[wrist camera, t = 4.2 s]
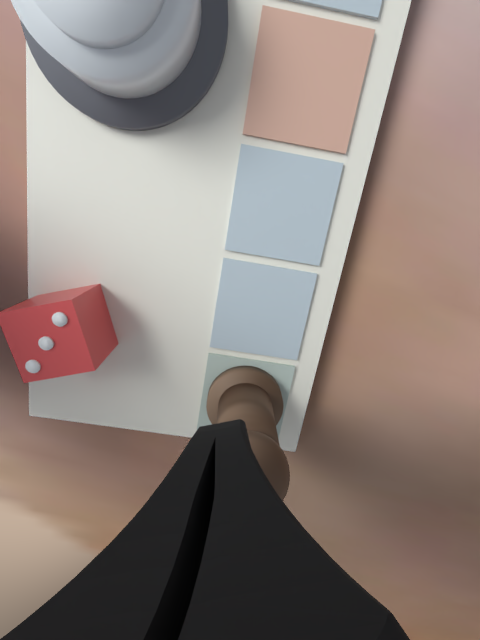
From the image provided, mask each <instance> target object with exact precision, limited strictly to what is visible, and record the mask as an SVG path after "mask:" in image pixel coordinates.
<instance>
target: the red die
mask: <svg viewBox="0 0 480 640" xmlns="http://www.w3.org/2000/svg"><path fill="white" fill-rule="evenodd" d="M0 326H1V328H2V331H3V333H4V336H5V338H6V340H7V343H8V345H9V348H10V350H11V353H12V355H13V358H14V360H15V362H16V365H17V367H18V370H19V372H20V375H21V377H22V380H23V382H24V383H28V382H33V381H39V380H45V379H51V378H56V377H62V376H68V375H73V374H79V373H85V372H91V371H95V370H96V369H97V368H98V367H99V366H100V365H101V363H102V362H103V361H104V360H105V359H106V358H107V357H108V355H109V354H110V353H111V352H112V351H113V350H114V348H115V347H116V346H117V345H118V344H119V343H118V340H117V337H116V333H115V330H114V327H113V324H112V320H111V317H110V314H109V310H108V307H107V304H106V301H105V297H104V294H103V291H102V288H101V284H95V285H90V286H84V287H79V288H73V289H68V290H63V291H57V292H52V293H46V294H41V295H37V296H34V297H32V298H30V299H28V300H25V301H23V302H21V303H18V304H16V305H14V306H12V307H9V308H7V309H5V310H2V311H0Z"/></svg>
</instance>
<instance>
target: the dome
mask: <svg viewBox="0 0 480 640" xmlns="http://www.w3.org/2000/svg"><path fill="white" fill-rule="evenodd" d="M11 2H12V4H13V6H14V8H15V10H16V12H17V14H18V16H19V18H20V20H21V21H22V23H23V24H24V26H25V27H26V29H27V30H28V32H29V33H30V34H31V35H32V37H33V38H34V39H35V40H36V41H37V43H38V44H39V45H40V46H41V47H42V48H43V49H45V50H46V51H47V52H48V53H49V54H50V55H51V56H52V57H54V58H55V59H56V60H57V61H58V62H60V63H61V64H62V65H63V66H64V67H66V68H67V69H68V70H69V71H70V72H72V73H73V74H74V75H75V76H76V77H78V78H79V79H80V80H81V81H83V82H84V83H85V84H87V85H88V86H90V87H91V88H93V89H95V90H97V91H99V92H101V93H104V94H106V95H109V96H113V97H117V98H126V99H128V98H140V97H146V96H149V95H152V94H155V93H157V92H158V91H160V90H162V89H164V88H165V87H167V86H168V85H169V84H171V83H172V82H173V81H174V80H175V79H176V78H177V77H178V76H179V75H180V74H181V73H182V71H183V70H184V69H185V67H186V66H187V64H188V62H189V61H190V59H191V57H192V54H193V52H194V50H195V47H196V44H197V41H198V37H199V32H200V26H201V13H202V10H201V0H11Z"/></svg>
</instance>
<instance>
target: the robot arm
mask: <svg viewBox="0 0 480 640" xmlns="http://www.w3.org/2000/svg"><path fill="white" fill-rule="evenodd" d="M0 640H410V639H409V638H408V636H407V635H406V633H405V632H404V630H403V629H402V627H401V626H400V624H399V623H398V622H397V620H396V619H395V617H394V616H393V614H392V613H391V612H390V611H389V610H388V609H387V608H385V607H384V606H383V605H382V604H381V603H380V602H378V601H377V600H376V599H375V598H374V597H373V596H371V595H370V594H369V593H368V592H367V591H366V590H365V589H364V588H362V587H361V586H360V585H359V584H358V583H357V582H356V581H355V580H354V579H352V578H351V577H350V576H349V575H348V574H347V573H346V572H345V571H344V570H343V569H342V568H341V567H340V566H339V565H338V564H337V563H336V562H335V561H334V560H333V559H332V558H331V557H330V556H329V555H328V554H327V553H326V552H325V551H324V550H323V549H322V547H321V546H320V545H319V544H318V543H317V542H316V541H315V540H314V539H313V538H312V537H311V535H310V534H309V533H308V532H307V531H306V530H305V529H304V528H303V527H302V525H301V524H300V523H299V522H298V520H297V519H296V518H295V517H294V515H293V514H292V513H291V512H290V510H289V509H288V508H287V506H286V505H285V504H284V502H283V501H282V500H281V498H280V497H279V495H278V494H277V493H276V491H275V489H274V488H273V486H272V485H271V483H270V482H269V480H268V478H267V477H266V475H265V474H264V472H263V470H262V468H261V466H260V465H259V463H258V461H257V459H256V457H255V455H254V453H253V451H252V448H251V445H250V441H249V436H248V432H247V428H246V424H245V422H244V421H243V420H241V419H238V420H232V421H227V422H222V423H217V424H211V425H206V426H201V427H199V428H198V429H197V431H196V432H195V434H194V435H193V437H192V438H191V440H190V441H189V443H188V445H187V446H186V448H185V449H184V451H183V452H182V454H181V455H180V457H179V458H178V460H177V461H176V463H175V464H174V466H173V467H172V468H171V470H170V471H169V473H168V474H167V476H166V477H165V479H164V480H163V481H162V483H161V484H160V485H159V487H158V488H157V489H156V491H155V492H154V493H153V495H152V496H151V497H150V498H149V500H148V501H147V502H146V504H145V505H144V506H143V507H142V508H141V510H140V511H139V512H138V513H137V514H136V516H135V517H134V518H133V519H132V520H131V521H130V522H129V523H128V525H127V526H126V527H125V528H124V529H123V530H122V531H121V532H120V533H119V534H118V535H117V537H116V538H115V539H114V540H113V541H112V542H111V543H110V544H109V545H108V546H107V547H106V548H105V549H104V550H103V551H102V552H101V553H100V554H99V555H98V556H96V557H95V558H94V559H93V560H92V561H91V562H90V563H89V564H88V565H87V566H86V567H85V568H84V569H83V570H82V571H81V572H80V573H79V574H78V575H77V576H76V577H75V578H74V579H72V580H71V581H70V582H69V583H68V584H67V585H66V586H65V587H63V588H62V589H61V590H60V591H59V592H58V593H57V594H55V596H53V597H52V598H51V599H50V600H49V601H47V602H46V603H45V604H44V605H42V606H41V607H40V608H39V609H38V610H37V611H35V612H34V613H33V614H32V615H30V616H29V617H28V618H27V619H26V620H24V621H23V622H22V623H21V624H20V625H18V626H17V627H16V628H14V629H13V630H12V631H11V632H9V633H8V634H7V635H5V636H4V637H3V638H1V639H0Z"/></svg>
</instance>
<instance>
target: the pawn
mask: <svg viewBox="0 0 480 640" xmlns="http://www.w3.org/2000/svg"><path fill="white" fill-rule="evenodd" d="M206 408H207V415H208V418H209V420H210V422H211V423H212V424H217V423H222V422H227V421H232V420H238V419H241V420H243V421H244V422H245V424H246V428H247V432H248V436H249V441H250V445H251V448H252V451H253V453H254V455H255V457H256V459H257V461H258V463H259V465H260V466H261V468H262V470H263V472H264V474H265V475H266V477H267V478H268V480H269V482H270V483H271V485H272V486H273V488H274V489H275V491H276V493H277V494H278V495H279V497H280V498H281V500H282V501H283V500H284V498H285V496H286V493H287V490H288V487H289V481H290V471H289V465H288V461H287V458H286V456H285V454H284V452H283V450H282V449H281V447H280V444H279V439H278V434H277V429H276V425H277V424H278V422H279V421H280V419H281V417H282V413H283V398H282V394H281V390H280V387H279V385H278V383H277V382H276V380H275V379H274V378H273V376H271V375H270V374H269V373H268V372H266V371H265V370H263V369H260V368H258V367H254V366H236V367H232V368H230V369H227V370H225V371H224V372H222V373H221V374H219V375H218V376H217V377H216V378H215V380H214V381H213V382H212V384H211V386H210V388H209V391H208V397H207V405H206Z"/></svg>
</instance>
